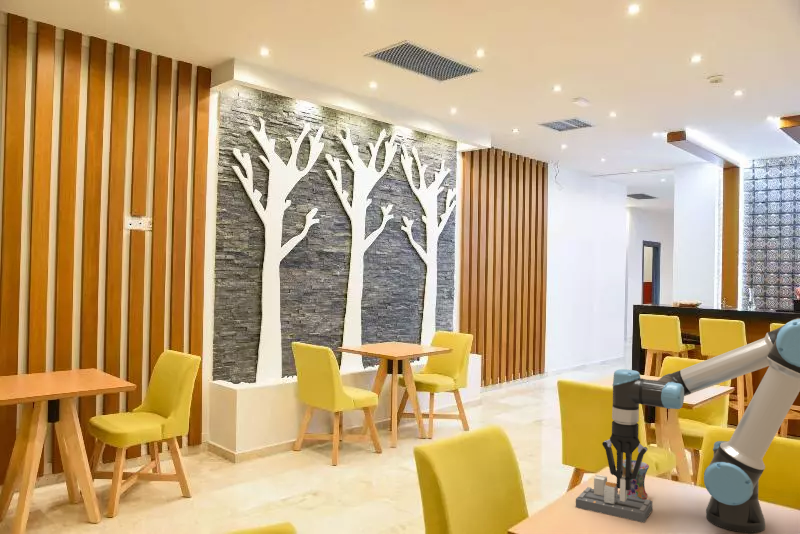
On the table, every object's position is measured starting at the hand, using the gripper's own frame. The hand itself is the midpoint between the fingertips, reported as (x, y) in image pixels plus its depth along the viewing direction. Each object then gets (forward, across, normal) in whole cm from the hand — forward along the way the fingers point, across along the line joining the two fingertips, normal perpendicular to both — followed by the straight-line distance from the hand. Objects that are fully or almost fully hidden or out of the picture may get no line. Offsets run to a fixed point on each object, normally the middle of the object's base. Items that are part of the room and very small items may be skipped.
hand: (623, 499), depth 184 cm
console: (+4, +3, -2) cm, 6 cm away
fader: (+1, +4, 0) cm, 4 cm away
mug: (+4, +1, -18) cm, 18 cm away
